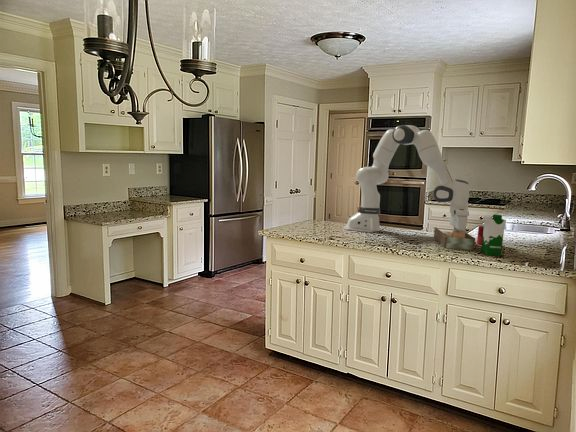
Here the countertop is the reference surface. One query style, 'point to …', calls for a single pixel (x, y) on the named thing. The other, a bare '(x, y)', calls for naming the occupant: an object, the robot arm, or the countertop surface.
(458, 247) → the trap box
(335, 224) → the countertop surface
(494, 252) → the milk carton
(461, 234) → the block
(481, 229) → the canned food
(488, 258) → the countertop surface
